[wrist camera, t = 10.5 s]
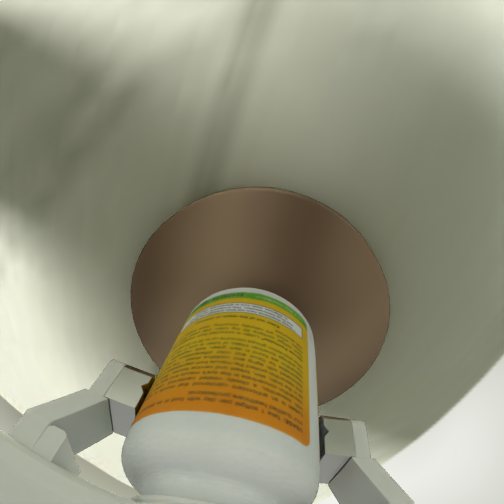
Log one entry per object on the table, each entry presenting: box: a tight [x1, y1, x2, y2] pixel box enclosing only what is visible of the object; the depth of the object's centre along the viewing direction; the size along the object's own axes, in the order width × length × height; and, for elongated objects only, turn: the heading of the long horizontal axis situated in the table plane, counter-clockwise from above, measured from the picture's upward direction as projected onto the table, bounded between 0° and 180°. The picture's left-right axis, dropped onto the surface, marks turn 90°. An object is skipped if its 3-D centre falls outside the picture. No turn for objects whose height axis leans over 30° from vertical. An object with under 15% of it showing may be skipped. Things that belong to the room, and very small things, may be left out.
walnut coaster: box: [131, 187, 390, 406], centre depth 15 cm, size 12×12×1 cm
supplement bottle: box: [122, 288, 320, 504], centre depth 9 cm, size 5×5×10 cm
